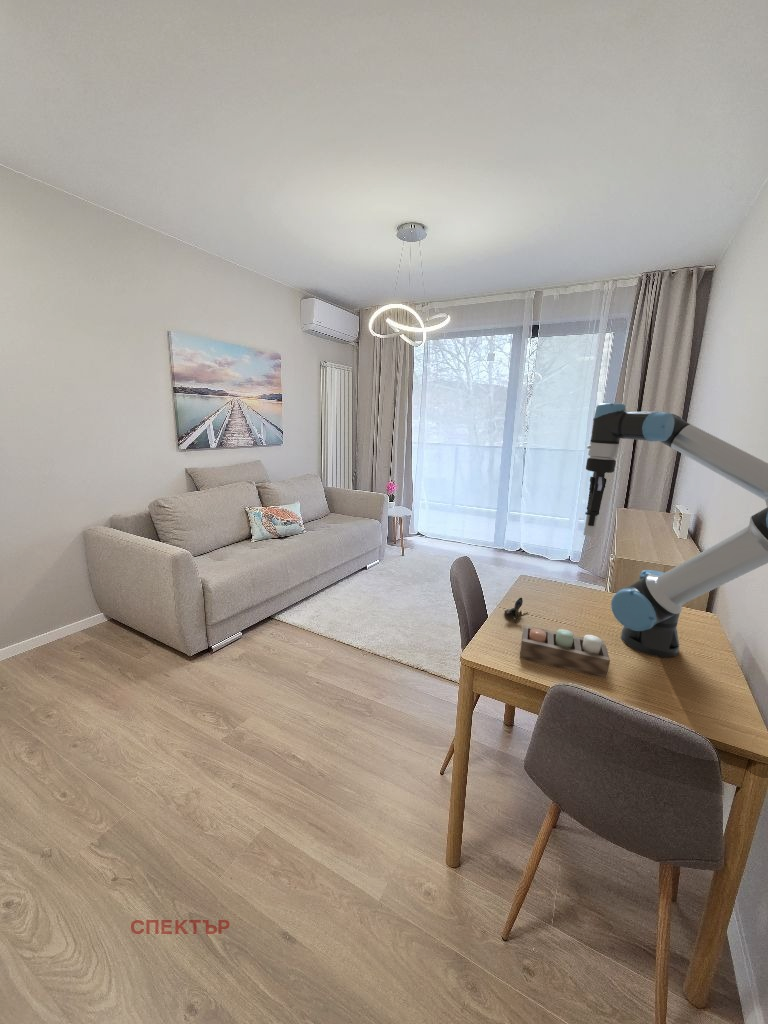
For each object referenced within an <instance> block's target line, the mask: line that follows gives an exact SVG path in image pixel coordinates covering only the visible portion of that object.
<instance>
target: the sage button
mask: <svg viewBox="0 0 768 1024" xmlns="http://www.w3.org/2000/svg"><path fill="white" fill-rule="evenodd" d="M556 632H557V634H556V640H555V646H560V647H565V648H569V649H572V643H573V637H574V636H575V634H574V633H573V632H572V631H571V630H568V629H562V628H559V629H557V630H556Z"/></svg>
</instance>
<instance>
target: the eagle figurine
mask: <svg viewBox="0 0 768 1024" xmlns="http://www.w3.org/2000/svg"><path fill="white" fill-rule="evenodd" d="M523 602H524V600H523V597H519V598H518V599H517V600H516V601H515V604H514V607H511V608H508V609H505V610H504V611H503V612H504V613H505V614H511V615H512V618H513V619H515V620H514V623H515V624H516V623H517V621H519V619H521V620H522V617H524V616H527V615H528V614H529V612H528V611H527V612H525V613H522V610H520V608H521V607H522V606H523Z"/></svg>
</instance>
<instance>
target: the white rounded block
mask: <svg viewBox="0 0 768 1024" xmlns="http://www.w3.org/2000/svg"><path fill="white" fill-rule="evenodd" d="M583 637H584V640H583V645H582V651H583V652H587V653H592V654H596V655H599V653H600V648H601V643H602V641H603V640H602V639H601V638H600V637H599V636H596V635H593V634H585V635H583Z"/></svg>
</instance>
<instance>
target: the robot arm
mask: <svg viewBox="0 0 768 1024" xmlns="http://www.w3.org/2000/svg"><path fill="white" fill-rule="evenodd" d="M591 429H592V430H591V436H590V437H591V438H590V441H589V442H590V443H589V445H587V446H586V449H588V456H589V457H587V460H586V465H585V470H587V471H589V472H593V474H592V476H590V477H589V482H590V483H589V488H588V489H589V492H588V493H589V494H588V498H587V505H586V511H585V515H586V516H585V517H586V518H585V522H584V529H583V536H588V537H595V532H596V531H595V530H596V525H597V520H598V515H600V510H601V506H602V500H603V495H604V492H605V488H606V484H607V478H606V477H605V474H606V473H607V474H612V473H614V472H615V468H616V462H617V461H616V458H617V457H618V453H619V449H620V440H621V439H622V440H624V439H628V440H636V441H637V440H638V441H648V442H660V443H662V444H664V445H666V446H667V447H669V448H671V449H672V450H673V449H674V450H675V451H676V452H678V453H681V454H682V455H684V456H686V457H687V458H689V459H691V460H692V461H695V462H696V463H698V464H700V465H701V466H703V467H706V468H707V469H709V470H710V471H712V472H713V473H716V474H717V475H719V476H721V477H723V478H725V479H727V480H729V481H730V482H732V483H734V484H736V485H737V486H739V487H741V488H743V489H744V490H746V491H748V492H750V493H752V494H753V495H755V496H757V497H759V498H760V499H762V500H764V502H765V505H766V507H764V509H761V510H760V511H758V512H757V513H755V514H753V515H751V516H750V519H749V524H748V526H747V527H744V528H743V529H741V530H739V531H736V533H734V534H732V535H730V536H728V537H726V538H725V539H723V540H722V541H719V542H717V543H715V544H714V545H712V546H710V547H708V548H707V549H705V550H703V551H701V552H699V553H698V554H696V555H694V556H692V557H691V558H689V559H687V560H685V561H684V562H682V563H680V564H678V565H677V566H674V567H672V568H671V569H669V570H667V571H666V572H664V571H663V572H662V571H659V570H653V569H643V570H641V572H640V574H639V576H638V577H639V579H638V580H637V581H635V582H634V583H632V584H630V585H628V586H627V587H625V588H621V589H619V590H618V591H616V593H615V594H614V595H613V596H612V598H611V602H610V605H611V607H610V609H611V612H612V613H613V616H614V617H615V619H616V620H617V621H618V623H619V624H620V625H622V626H623V627H622V629H621V634H620V638H621V640H622V642H624V644H626V645H627V646H629V647H630V648H632V649H633V650H636V651H638V652H641V653H642V654H646V655H649V656H654V657H658V658H673V657H676V656H677V655H678V654H679V650H680V641H679V635H678V629H677V627H678V623H679V618H680V613H681V612H682V610H683V609H682V608H683V605H684V604H687V603H689V602H691V601H692V600H694V599H696V598H698V597H701V596H703V595H705V594H707V593H709V592H711V591H713V590H715V589H718V588H719V587H722V586H723V585H726V584H728V583H729V582H732V581H734V580H735V579H739V578H740V577H742V576H744V575H746V574H748V573H750V572H752V571H755V570H756V569H758V568H760V567H763V566H764V565H767V564H768V462H766V461H764V460H762V459H761V458H759V457H756V456H754V455H752V454H751V453H748V452H746V451H745V450H743V449H740V448H739V447H737V446H735V445H732V444H731V443H729V442H727V441H725V440H723V439H721V438H719V437H717V436H715V435H713V434H711V433H709V432H708V431H705V430H703V429H701V428H699V427H697V426H696V425H693V424H691V423H689V422H687V421H686V420H684V419H683V418H682V417H681V416H679V415H676V414H674V413H671V412H663V411H657V410H656V411H631V410H629V411H628V410H627V409H626V405H625V404H624V403H616V402H615V403H614V402H613V403H611V402H610V403H607V402H606V403H604V402H603V403H599V404H598V405H597V406H596V408H595V412H594V416H593V422H592V428H591Z"/></svg>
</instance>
